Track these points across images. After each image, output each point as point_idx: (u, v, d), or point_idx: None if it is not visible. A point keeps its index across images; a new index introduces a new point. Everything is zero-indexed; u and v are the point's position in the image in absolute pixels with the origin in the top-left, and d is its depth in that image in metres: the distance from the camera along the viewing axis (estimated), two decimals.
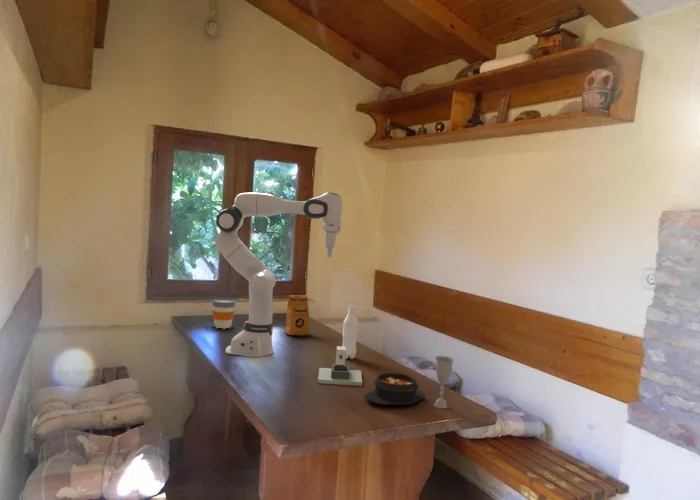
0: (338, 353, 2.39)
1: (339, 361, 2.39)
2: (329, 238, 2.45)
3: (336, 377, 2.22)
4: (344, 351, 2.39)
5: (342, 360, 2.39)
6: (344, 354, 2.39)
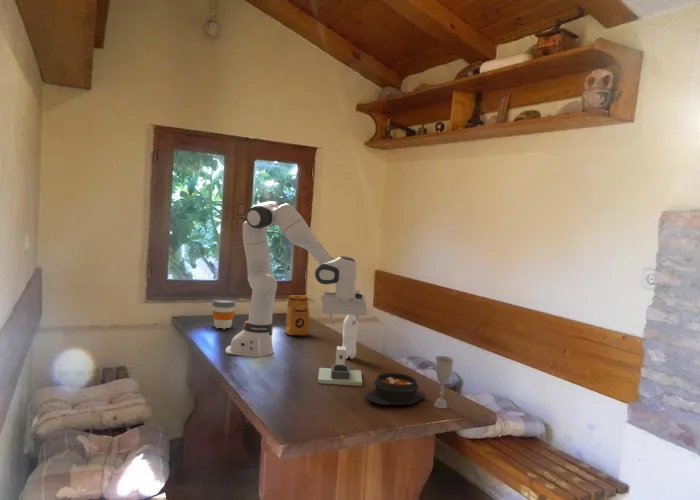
0: (338, 353, 2.39)
1: (339, 361, 2.39)
2: (366, 305, 2.40)
3: (336, 377, 2.22)
4: (344, 351, 2.39)
5: (342, 360, 2.39)
6: (344, 354, 2.39)
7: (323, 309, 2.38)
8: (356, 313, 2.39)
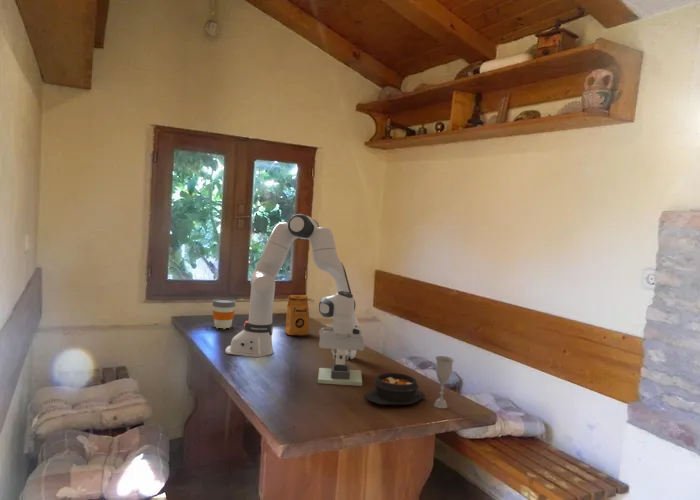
0: (338, 353, 2.39)
1: (339, 361, 2.39)
2: None
3: (336, 377, 2.22)
4: (344, 351, 2.39)
5: (342, 360, 2.39)
6: (344, 354, 2.39)
7: (321, 344, 2.40)
8: (353, 348, 2.40)
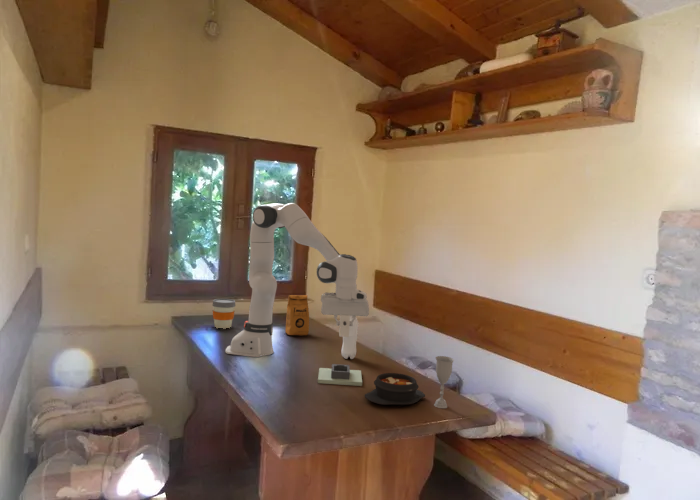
0: (342, 319, 2.26)
1: (343, 327, 2.26)
2: None
3: (336, 377, 2.22)
4: (348, 317, 2.26)
5: (346, 327, 2.26)
6: (348, 320, 2.26)
7: (323, 310, 2.26)
8: (358, 314, 2.27)
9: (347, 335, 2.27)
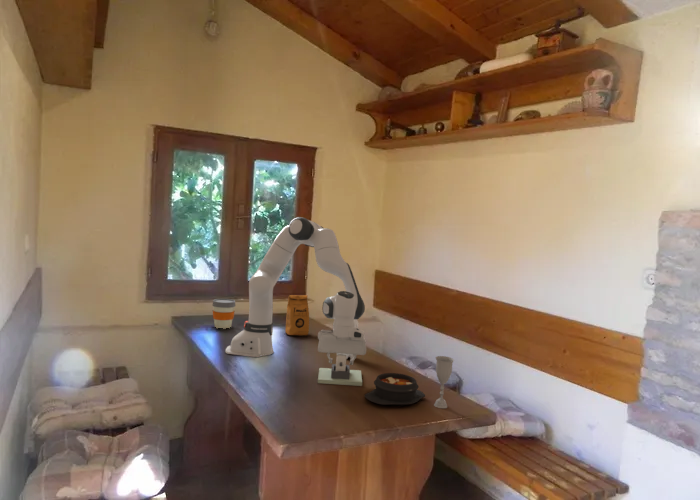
0: (338, 360, 2.23)
1: (339, 368, 2.23)
2: None
3: (336, 377, 2.22)
4: (344, 358, 2.23)
5: (342, 367, 2.23)
6: (344, 361, 2.23)
7: (319, 348, 2.23)
8: (355, 352, 2.24)
9: None
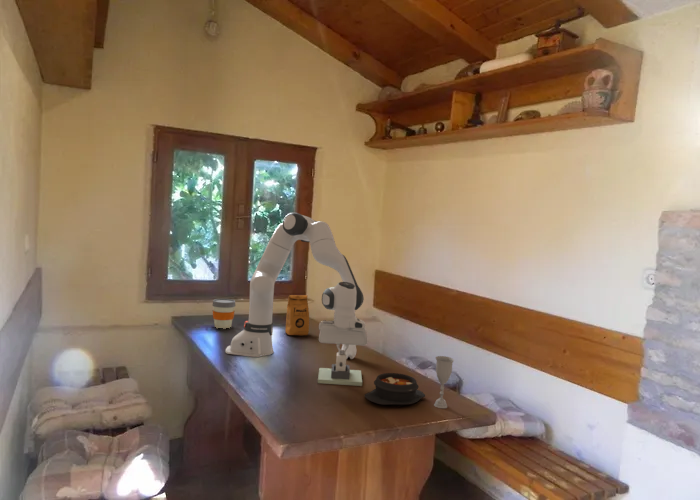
0: (338, 360, 2.23)
1: (339, 368, 2.23)
2: None
3: (336, 377, 2.22)
4: (344, 358, 2.23)
5: (342, 367, 2.23)
6: (344, 361, 2.23)
7: (320, 339, 2.23)
8: (356, 343, 2.23)
9: None
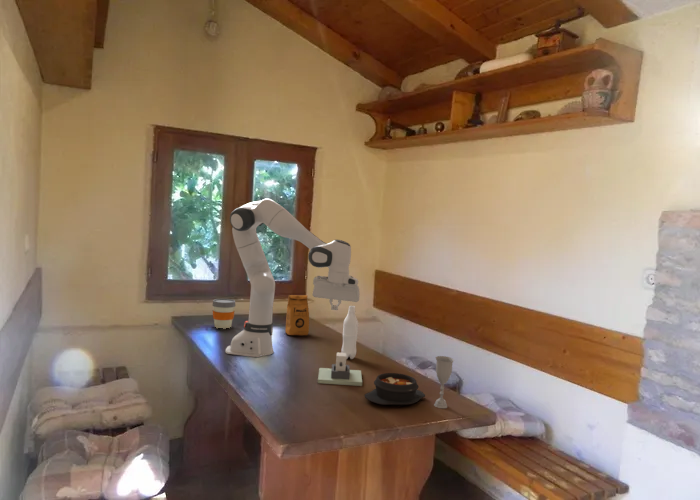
0: (338, 360, 2.23)
1: (339, 368, 2.23)
2: None
3: (336, 377, 2.22)
4: (344, 358, 2.23)
5: (342, 367, 2.23)
6: (344, 361, 2.23)
7: (314, 293, 2.31)
8: (348, 299, 2.31)
9: None
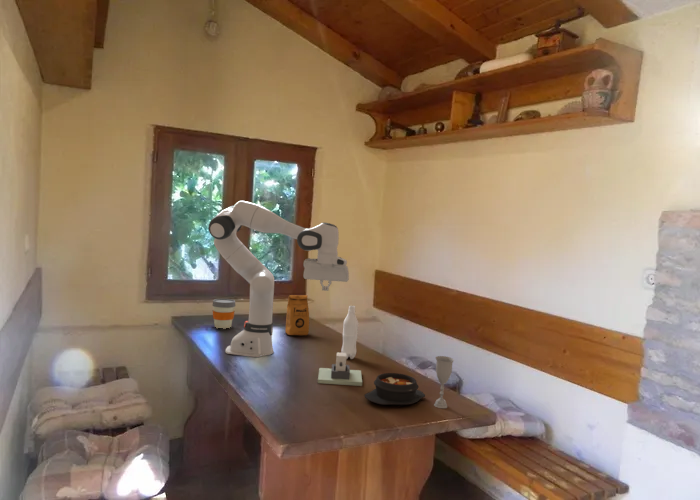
0: (338, 360, 2.23)
1: (339, 368, 2.23)
2: (348, 272, 2.41)
3: (336, 377, 2.22)
4: (344, 358, 2.23)
5: (342, 367, 2.23)
6: (344, 361, 2.23)
7: (305, 275, 2.39)
8: (338, 279, 2.39)
9: None
